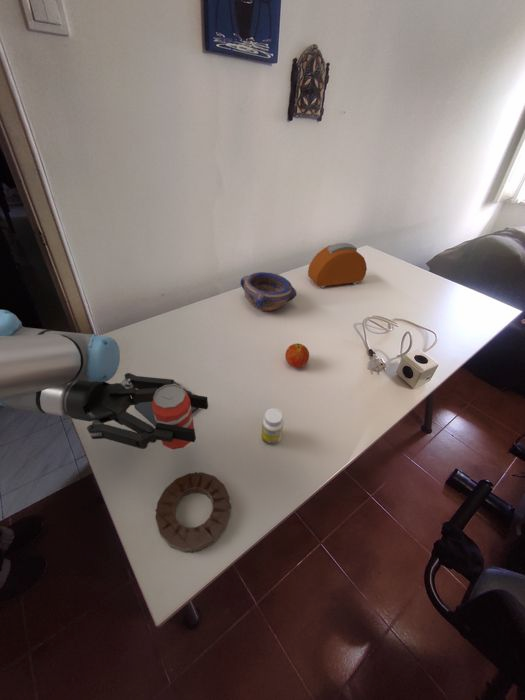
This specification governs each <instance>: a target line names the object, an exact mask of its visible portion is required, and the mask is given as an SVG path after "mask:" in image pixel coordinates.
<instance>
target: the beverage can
mask: <svg viewBox="0 0 525 700" xmlns="http://www.w3.org/2000/svg"><path fill="white" fill-rule="evenodd" d="M183 388H184V387H183V386H182V387H181V385H180V386H178V385H176V384H170V385H164V386H162V387H161V388H159V389H158V390H156V392H155V395H154V397H153V401H152V403H151V405H152V409H153V413H154V416H155V420H156V424H157V423H162V424H167V425H173V426H179V427H184V428H190V429H195V425H194V424H195V423H194V419H193V414H192V410H191V403H190V398H189V396H188V394H187V392H186V391H184V389H185V388H184V389H183ZM161 442H162V445H163V447H166V448H168V449H170V450H179V449H184V448H186V446H188V445H189V444H191V442H189V441H184V440H178V439H174V440H173V442H166V441H161Z"/></svg>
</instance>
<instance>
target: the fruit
mask: <svg viewBox="0 0 525 700" xmlns="http://www.w3.org/2000/svg"><path fill="white" fill-rule="evenodd" d="M284 355H285V356H284V357H285V361H286V363H287V364H288V365H289V366H290V367H293V368H303V367H305V366H306V365H307V363H308V362H309V359H310V352H309V349H308V347H307V346H306V345H304V344H302V343H298V342H297V343H293V344H290V345H289V346H288V347H287V349H286V351H285V354H284Z"/></svg>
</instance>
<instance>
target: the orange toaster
mask: <svg viewBox="0 0 525 700" xmlns="http://www.w3.org/2000/svg"><path fill="white" fill-rule="evenodd" d="M357 250H358V247H356V246H354V244H351V243H347V242H338V243H335V244H331V245H328V246H325V248H322V249H321V250H319V252H317V253H316V254H315V255H314V257H312V259H311V261H310V264H309V265H308V269H307V276H308V277H309V279H310V280H311V281H312V282H313V283H314V284H315V285H316V286H317V287H320V288H321V289H325V287H329V286H337V285H344V284H345V285H346V284H352V285H357V283H360V282H362V281H363V280H364V278H365V277H366V275H367V269H368V268H367V263H366V262H367V261H366V259H365V257H364V256H363V255H362V254H360V253H359V252H358V251H357Z"/></svg>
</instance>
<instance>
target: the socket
mask: <svg viewBox="0 0 525 700" xmlns="http://www.w3.org/2000/svg"><path fill="white" fill-rule="evenodd" d="M194 493H195V494H196V493H197V494H198V493H200V494H203V495H205V496H207V498H208V499H210V502H211V503H212V509H211V513H210V515H209V517H208V518H207V520H205V522H203V523H201V524H200V525H198V526H194V527H187V526H184V525H181V523H180V522H179V521H178V520H177V519H176V512H177V507H178V506H179V503H180V502H181V501H182V500H183V499H184V498H185V497H187V496H188V495H190V494H194ZM231 509H232V503H231V498H230V495H229V492H228V490H227V488H226V486H225V484H224V483H223V482H222V481H221V480H219V478H218V477H216V476H214V475H213V474H209V473H206V472H204V471H203V472H202V471H201V472H200V471H199V472H197V471H195V472H189V473H186V474H184V475H181V476H180V477H177V478H175V480H173V481H172V482H171V483H170V484H169V485H168V486H166V488H165V489H164V490H163V492H162V494H161V496H160V498H159V499H158V501H157V504H156V509H154V511H155V516H154V519H155V523H156V526H157V531H158V533H159V535H160V537H161V538H162V539H163V541H164V542H165V543H166V544H167V545H168V546H169V547H170V548H172V549H175V550H177V551H180V552H182V553H191V554H193V553H194V552H200V551H202V550H204V549H206V548H208V547H209V546H211V545H213V544H215V543H216V541H218V539H219V538H220V537H221V535H222V534H224V532H225V530H226V528H227V525H228V523H229V520H230V518H231Z"/></svg>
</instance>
